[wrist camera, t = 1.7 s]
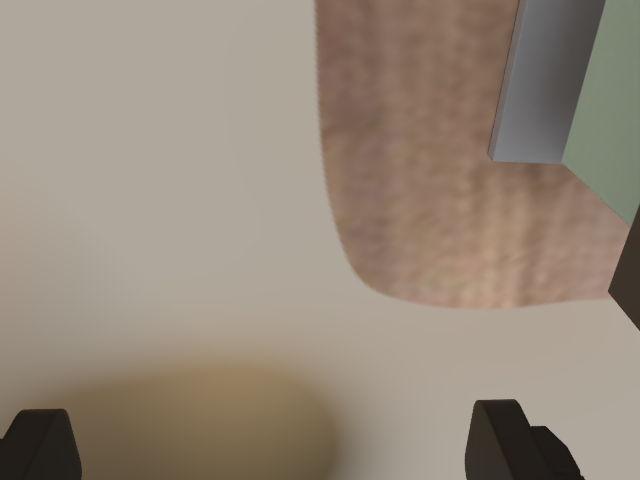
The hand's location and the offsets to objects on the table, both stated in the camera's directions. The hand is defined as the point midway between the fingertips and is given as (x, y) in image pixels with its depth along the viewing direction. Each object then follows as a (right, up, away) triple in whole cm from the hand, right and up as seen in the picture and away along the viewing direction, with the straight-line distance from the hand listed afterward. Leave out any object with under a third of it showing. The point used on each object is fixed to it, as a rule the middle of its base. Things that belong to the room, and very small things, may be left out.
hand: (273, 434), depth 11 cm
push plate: (+12, +10, +12) cm, 20 cm away
